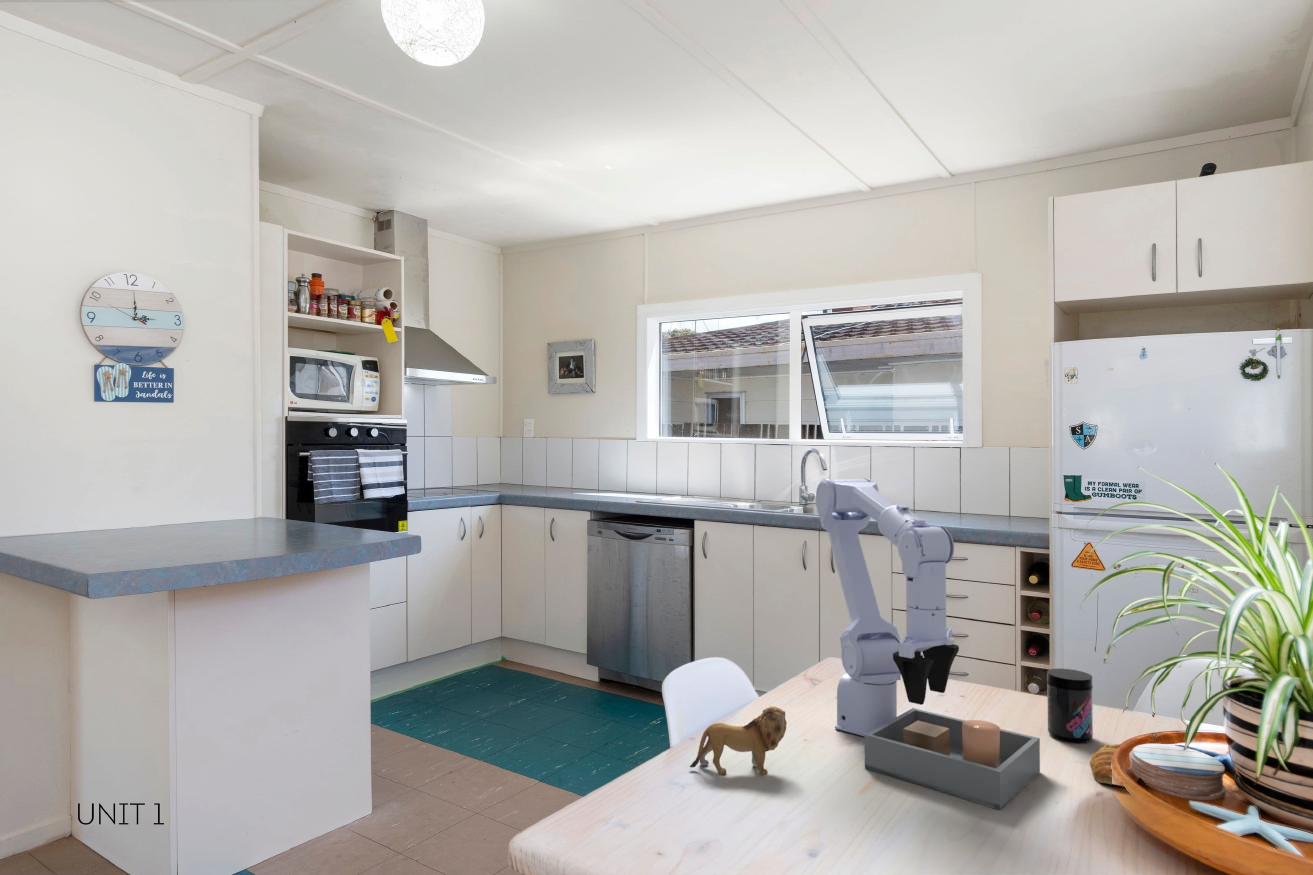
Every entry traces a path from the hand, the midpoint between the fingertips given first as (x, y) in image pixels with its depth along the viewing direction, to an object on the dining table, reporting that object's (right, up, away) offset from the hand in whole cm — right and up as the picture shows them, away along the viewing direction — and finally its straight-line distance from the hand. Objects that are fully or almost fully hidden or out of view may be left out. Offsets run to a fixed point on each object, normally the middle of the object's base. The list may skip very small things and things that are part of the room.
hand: (926, 696), depth 116 cm
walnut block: (0, -10, 0) cm, 10 cm away
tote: (+3, -10, -2) cm, 11 cm away
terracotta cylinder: (+6, -10, -4) cm, 12 cm away
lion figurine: (-28, -11, -1) cm, 30 cm away
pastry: (+27, -11, -3) cm, 29 cm away
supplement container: (+28, -11, +12) cm, 33 cm away
